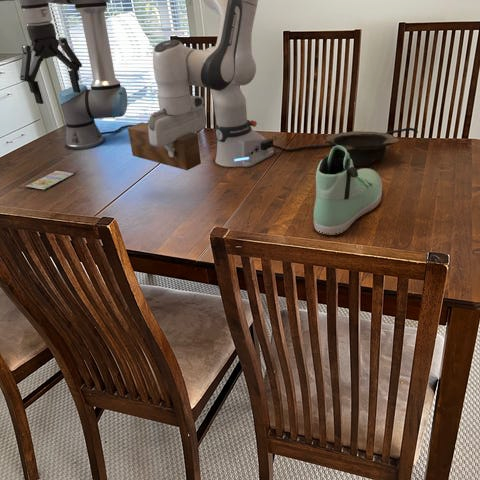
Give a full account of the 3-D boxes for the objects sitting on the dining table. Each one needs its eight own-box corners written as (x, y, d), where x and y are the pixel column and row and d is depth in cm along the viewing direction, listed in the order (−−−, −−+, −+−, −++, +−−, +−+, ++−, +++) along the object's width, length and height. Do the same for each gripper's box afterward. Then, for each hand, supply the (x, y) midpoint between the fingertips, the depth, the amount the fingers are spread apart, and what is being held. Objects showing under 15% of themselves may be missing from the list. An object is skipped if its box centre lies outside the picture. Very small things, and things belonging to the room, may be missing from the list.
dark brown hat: (355, 177, 156) (355, 149, 151) (311, 159, 176) (310, 134, 172) (413, 158, 165) (414, 132, 160) (364, 143, 185) (364, 119, 180)
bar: (132, 155, 150) (127, 127, 145) (146, 149, 154) (142, 122, 149) (187, 170, 137) (183, 140, 132) (201, 163, 141) (197, 133, 136)
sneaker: (389, 187, 148) (396, 123, 138) (356, 242, 123) (361, 168, 112) (346, 181, 154) (350, 119, 144) (306, 232, 129) (307, 161, 118)
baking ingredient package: (25, 185, 168) (56, 169, 179) (25, 186, 168) (56, 171, 180) (43, 188, 164) (74, 172, 176) (44, 190, 165) (74, 173, 176)
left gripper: (6, 31, 128) (30, 109, 139) (82, 17, 145) (98, 88, 156) (-8, 30, 132) (16, 106, 143) (68, 17, 149) (84, 86, 160)
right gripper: (155, 116, 124) (163, 166, 131) (207, 96, 137) (212, 142, 144) (139, 113, 127) (148, 162, 134) (191, 94, 141) (196, 139, 148)
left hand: (59, 97), depth 150 cm, fingers open, 13 cm apart
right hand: (181, 152), depth 140 cm, fingers closed on bar, 6 cm apart
